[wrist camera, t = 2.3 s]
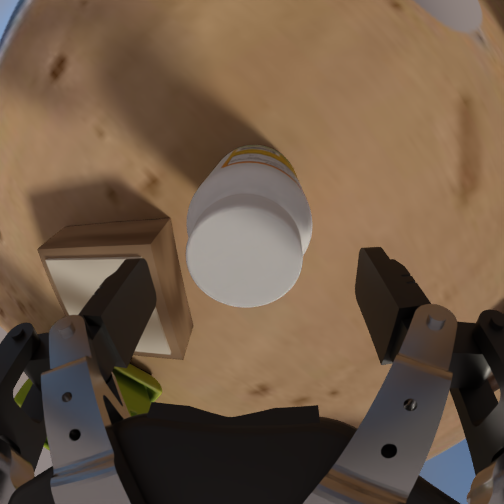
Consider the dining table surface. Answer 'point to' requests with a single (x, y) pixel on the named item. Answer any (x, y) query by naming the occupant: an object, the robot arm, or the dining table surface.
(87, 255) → the pedestal
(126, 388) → the flower pot
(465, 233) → the dining table surface
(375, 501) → the robot arm
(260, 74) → the dining table surface
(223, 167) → the supplement bottle
